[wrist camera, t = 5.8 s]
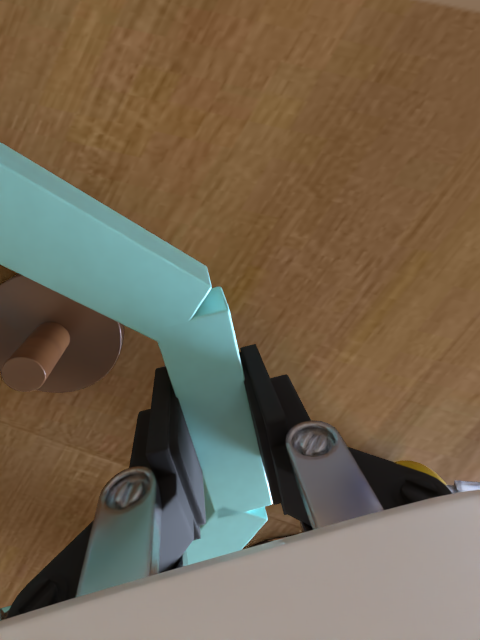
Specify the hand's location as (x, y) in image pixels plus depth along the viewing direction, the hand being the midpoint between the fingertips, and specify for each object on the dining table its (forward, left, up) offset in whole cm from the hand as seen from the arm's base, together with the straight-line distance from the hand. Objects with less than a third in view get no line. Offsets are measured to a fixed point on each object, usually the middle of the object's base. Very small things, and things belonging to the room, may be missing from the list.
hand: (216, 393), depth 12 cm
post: (0, -9, -12) cm, 15 cm away
